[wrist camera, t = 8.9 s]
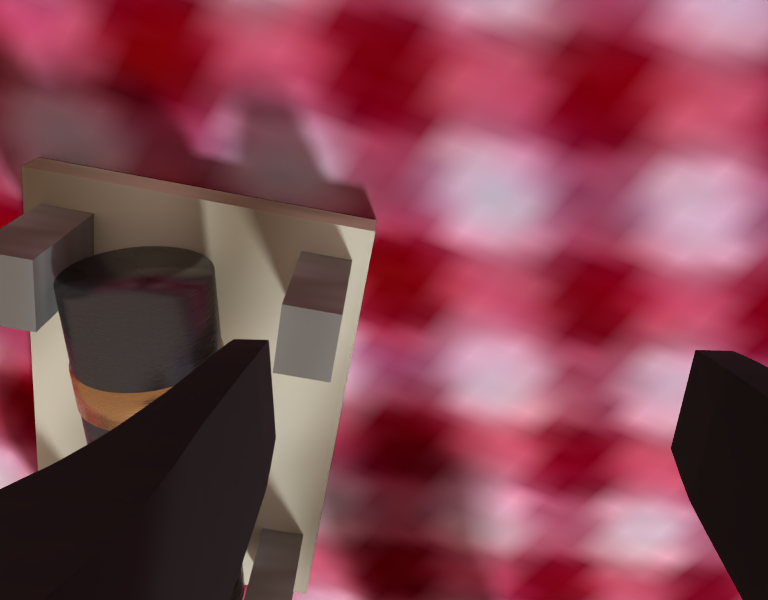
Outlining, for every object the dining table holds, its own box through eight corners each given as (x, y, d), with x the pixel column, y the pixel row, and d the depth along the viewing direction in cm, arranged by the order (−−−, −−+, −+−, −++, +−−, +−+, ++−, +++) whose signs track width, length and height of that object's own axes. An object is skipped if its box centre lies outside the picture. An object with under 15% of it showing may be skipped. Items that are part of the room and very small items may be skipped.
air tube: (256, 548, 25) (231, 649, 21) (145, 545, 25) (102, 645, 21) (231, 247, 19) (192, 312, 16) (90, 243, 19) (19, 307, 16)
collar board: (376, 219, 20) (369, 282, 16) (309, 572, 26) (292, 680, 22) (38, 157, 19) (-58, 205, 15) (55, 533, 26) (-10, 636, 22)
